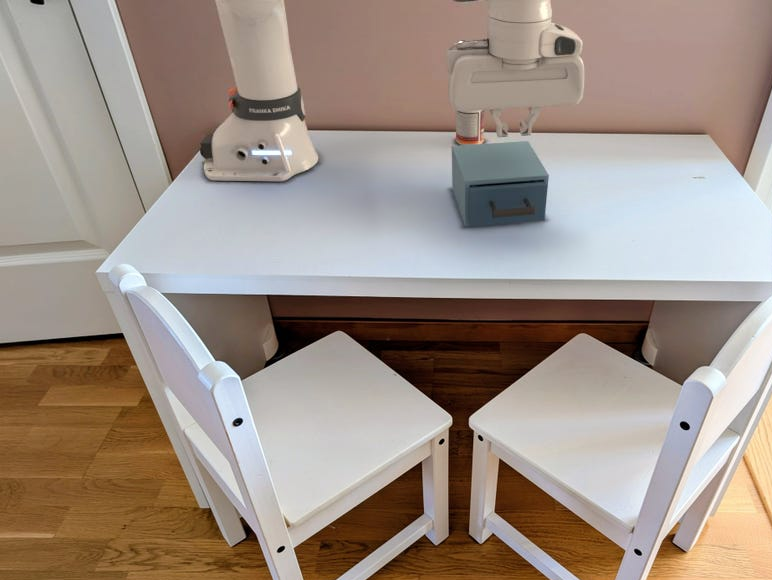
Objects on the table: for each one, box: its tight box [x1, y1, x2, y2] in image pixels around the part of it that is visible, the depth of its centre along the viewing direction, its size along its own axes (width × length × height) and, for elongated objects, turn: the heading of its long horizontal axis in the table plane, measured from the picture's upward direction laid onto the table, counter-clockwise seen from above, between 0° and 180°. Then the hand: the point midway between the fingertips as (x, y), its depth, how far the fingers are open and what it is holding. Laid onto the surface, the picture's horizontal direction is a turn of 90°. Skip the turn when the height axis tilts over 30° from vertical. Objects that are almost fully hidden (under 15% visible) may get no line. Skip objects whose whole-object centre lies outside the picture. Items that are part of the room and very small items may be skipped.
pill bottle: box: [455, 110, 485, 145], centre depth 131 cm, size 6×6×11 cm
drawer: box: [469, 180, 549, 228], centre depth 108 cm, size 18×13×7 cm
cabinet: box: [451, 140, 550, 228], centre depth 111 cm, size 15×15×9 cm
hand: (513, 135), depth 95 cm, fingers closed
